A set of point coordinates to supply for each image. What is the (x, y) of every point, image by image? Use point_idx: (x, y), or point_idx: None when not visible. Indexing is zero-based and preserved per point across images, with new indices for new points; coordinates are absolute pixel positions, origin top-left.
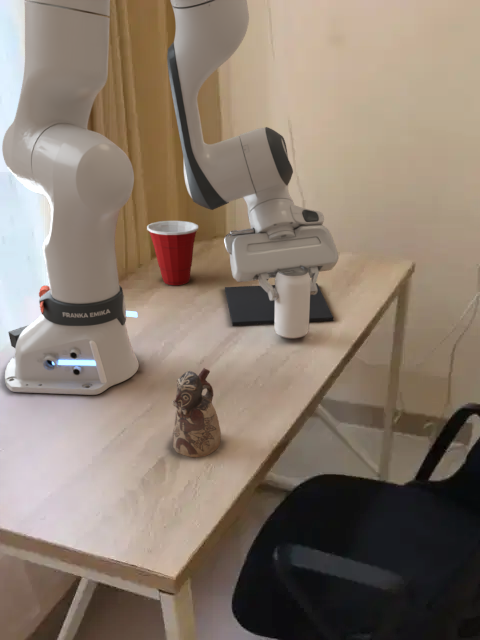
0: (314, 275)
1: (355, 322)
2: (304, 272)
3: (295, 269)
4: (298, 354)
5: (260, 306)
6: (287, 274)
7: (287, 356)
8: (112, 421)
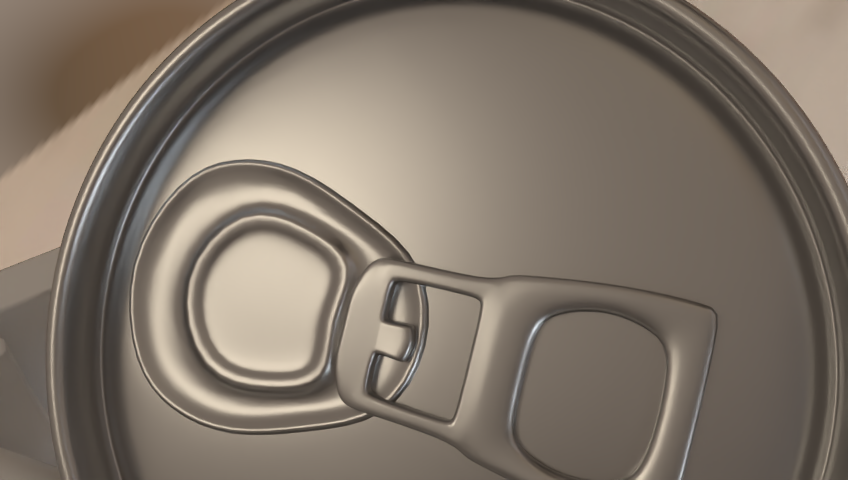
0: (18, 300)
1: (20, 242)
2: (236, 139)
3: (290, 425)
4: (713, 11)
5: None
6: (679, 255)
7: (820, 25)
8: None
